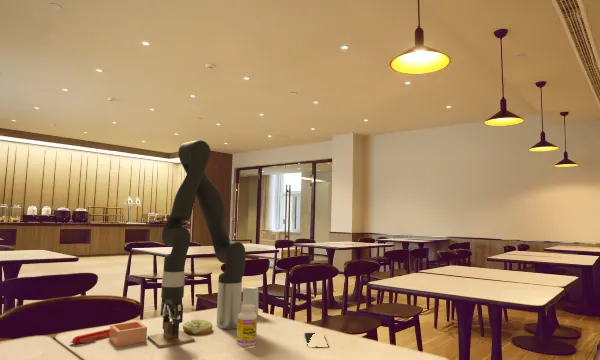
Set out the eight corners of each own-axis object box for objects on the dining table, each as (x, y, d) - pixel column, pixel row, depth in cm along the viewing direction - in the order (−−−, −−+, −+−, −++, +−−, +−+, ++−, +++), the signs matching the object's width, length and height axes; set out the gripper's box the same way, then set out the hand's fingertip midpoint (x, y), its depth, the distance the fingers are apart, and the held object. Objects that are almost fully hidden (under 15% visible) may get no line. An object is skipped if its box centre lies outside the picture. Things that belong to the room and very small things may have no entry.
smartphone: (307, 346, 134) (303, 332, 149) (307, 349, 134) (303, 335, 149) (329, 346, 134) (323, 332, 149) (329, 349, 134) (323, 335, 149)
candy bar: (114, 334, 145) (115, 325, 145) (120, 336, 143) (120, 327, 143) (68, 345, 132) (69, 335, 132) (73, 347, 130) (74, 338, 130)
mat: (181, 333, 146) (181, 332, 146) (196, 342, 136) (196, 341, 136) (145, 339, 138) (145, 338, 138) (158, 349, 128) (158, 348, 128)
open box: (137, 335, 143) (138, 320, 143) (146, 342, 135) (147, 327, 136) (109, 339, 137) (110, 325, 137) (116, 347, 129) (117, 331, 130)
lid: (180, 332, 146) (181, 316, 146) (194, 341, 136) (195, 323, 137) (147, 338, 138) (148, 321, 139) (159, 347, 129) (160, 329, 129)
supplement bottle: (240, 348, 132) (241, 308, 133) (233, 342, 138) (235, 304, 139) (259, 345, 135) (260, 306, 136) (252, 339, 141) (253, 302, 142)
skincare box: (258, 314, 176) (259, 286, 177) (255, 317, 172) (256, 288, 173) (245, 313, 177) (246, 285, 178) (241, 316, 173) (242, 287, 174)
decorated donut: (195, 338, 141) (196, 327, 142) (176, 332, 147) (177, 322, 148) (217, 331, 150) (218, 321, 150) (198, 326, 156) (198, 316, 156)
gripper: (191, 286, 136) (188, 335, 134) (175, 280, 147) (173, 325, 145) (170, 288, 131) (166, 339, 129) (155, 282, 142) (152, 328, 141)
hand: (170, 332), depth 137 cm, fingers open, 8 cm apart
